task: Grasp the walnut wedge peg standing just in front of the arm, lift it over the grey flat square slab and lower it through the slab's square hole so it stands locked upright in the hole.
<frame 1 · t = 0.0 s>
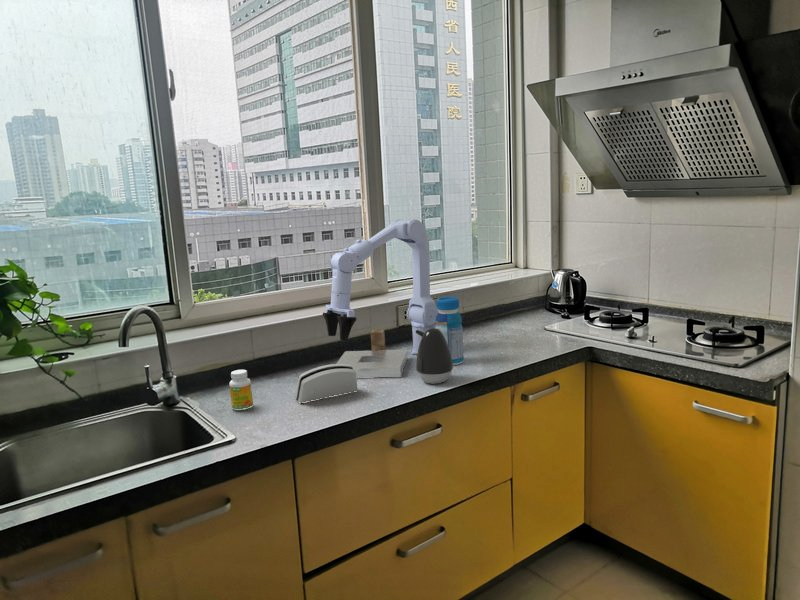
hand: (337, 337, 180), 11 cm above the worktop, tool pointing down, fingers open, 7 cm apart
wedge peg: (379, 354, 199), on the worktop
supplement bottle: (242, 408, 156), on the worktop
grey flat square slab: (371, 368, 184), on the worktop
pump dispenser: (434, 381, 168), on the worktop
beverage bottle: (450, 363, 185), on the worktop
napkin holder: (328, 398, 160), on the worktop
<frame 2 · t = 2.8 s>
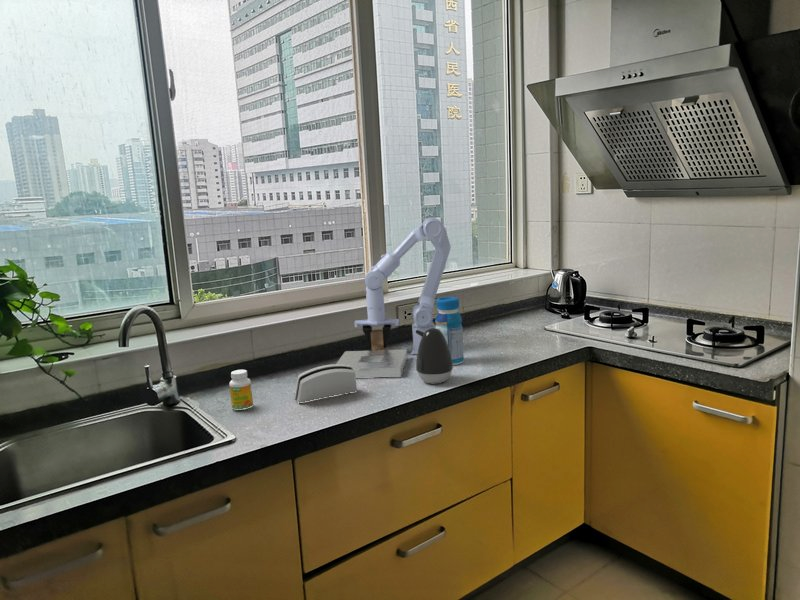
hand: (378, 347, 199), 2 cm above the worktop, tool pointing down, fingers closed on wedge peg, 4 cm apart
wedge peg: (379, 354, 199), on the worktop, touching gripper
everything else where it was.
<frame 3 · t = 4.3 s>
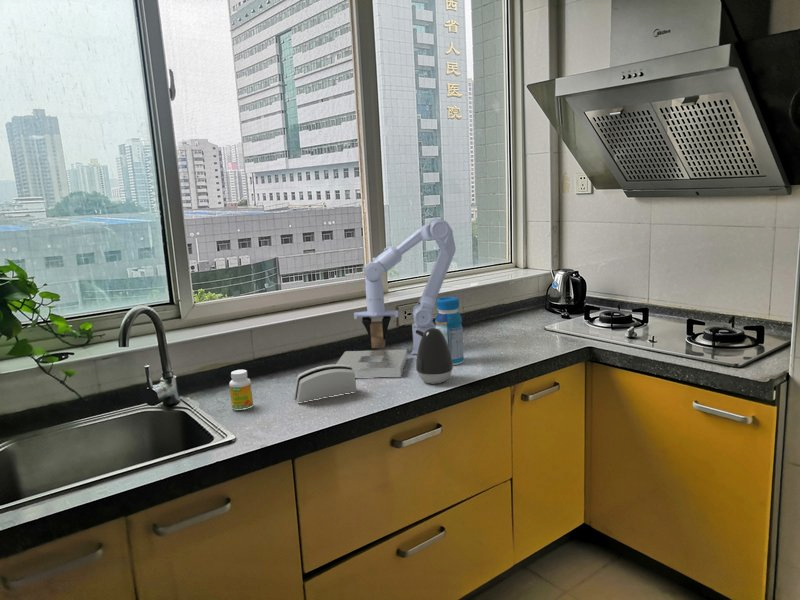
hand: (378, 339, 198), 5 cm above the worktop, tool pointing down, fingers closed on wedge peg, 4 cm apart
wedge peg: (378, 346, 199), point 3 cm above the worktop, touching gripper
everything else where it was.
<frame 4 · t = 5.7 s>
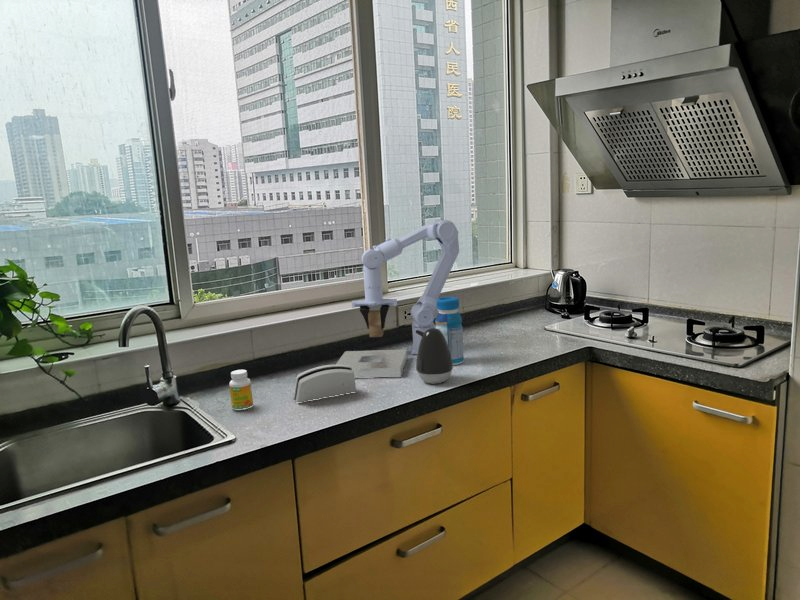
hand: (376, 328, 196), 9 cm above the worktop, tool pointing down, fingers closed on wedge peg, 4 cm apart
wedge peg: (376, 335, 196), point 7 cm above the worktop, touching gripper
everything else where it was.
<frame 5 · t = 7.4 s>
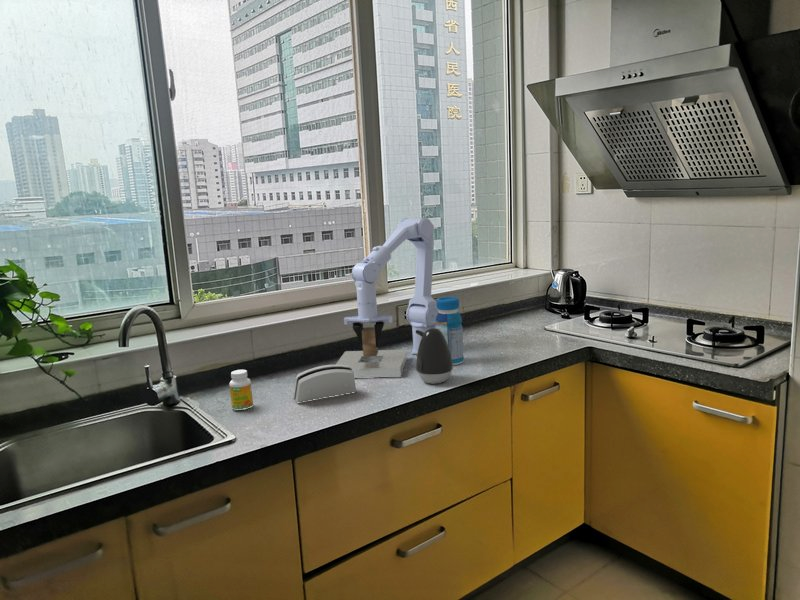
hand: (370, 346, 182), 7 cm above the worktop, tool pointing down, fingers closed on wedge peg, 4 cm apart
wedge peg: (370, 354, 183), point 4 cm above the worktop, touching gripper
everything else where it was.
when the fingers open (3 cm above the worktop, at t = 8.6 s): wedge peg stays where it is, resting in grey flat square slab.
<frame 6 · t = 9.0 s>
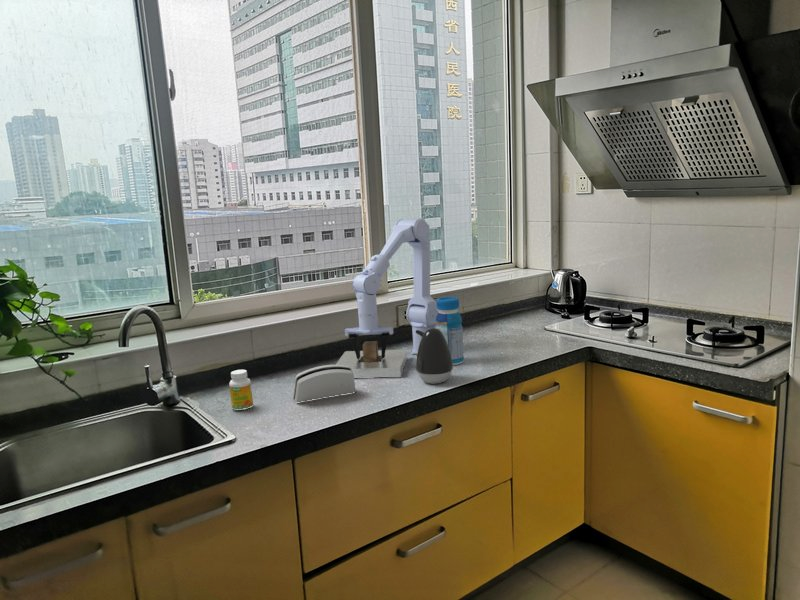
hand: (371, 357, 183), 3 cm above the worktop, tool pointing down, fingers open, 7 cm apart
wedge peg: (371, 368, 184), resting in grey flat square slab
everything else where it was.
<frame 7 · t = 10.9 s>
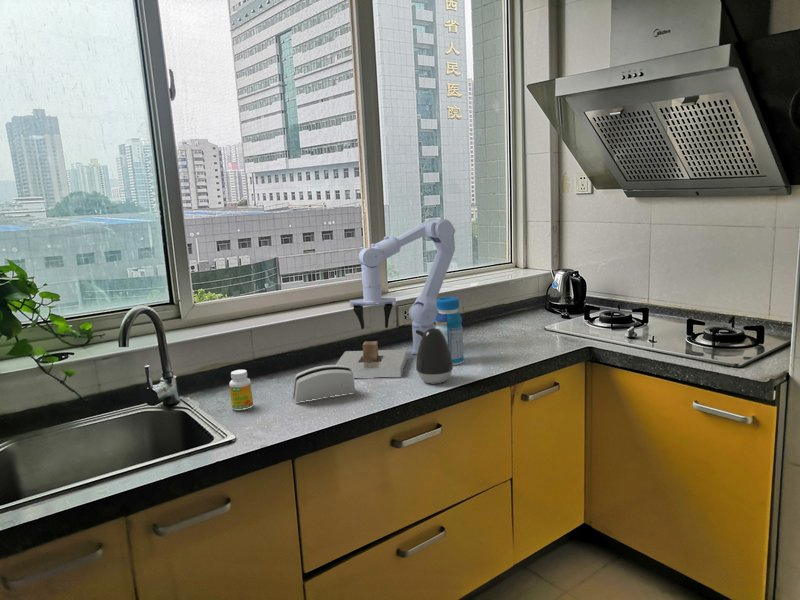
hand: (374, 327, 192), 10 cm above the worktop, tool pointing down, fingers open, 7 cm apart
nothing on the worktop moved.
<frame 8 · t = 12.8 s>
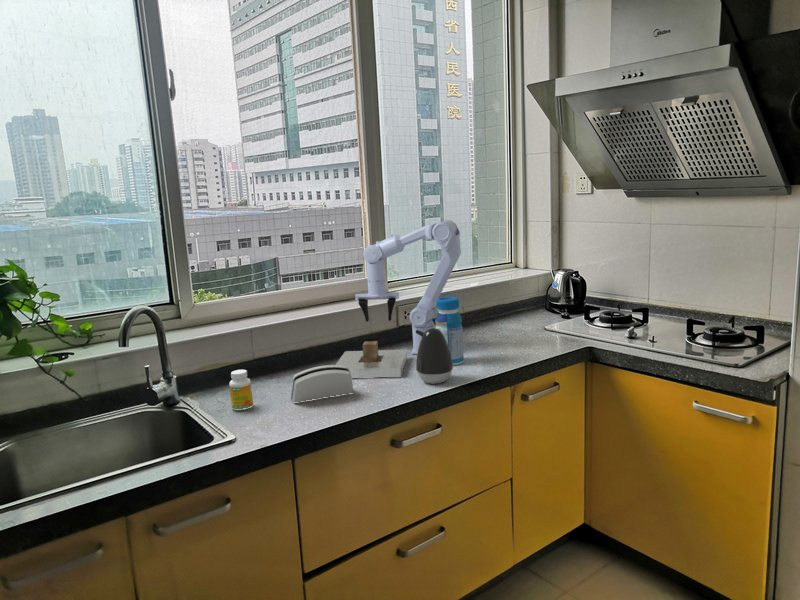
hand: (378, 320, 202), 10 cm above the worktop, tool pointing down, fingers open, 7 cm apart
at the end: wedge peg 0.3 cm off-centre on the grey flat square slab, point 0.0 cm above the grey flat square slab's base; wedge peg tilted 0°; the gripper is holding nothing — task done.
